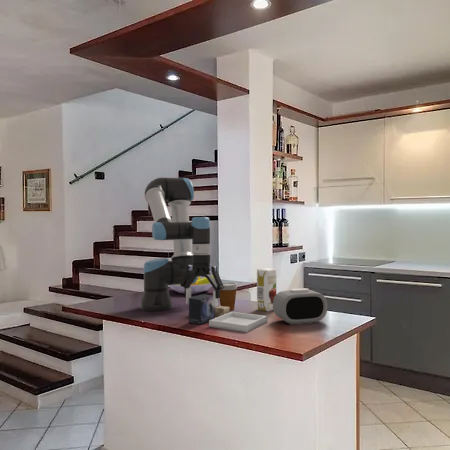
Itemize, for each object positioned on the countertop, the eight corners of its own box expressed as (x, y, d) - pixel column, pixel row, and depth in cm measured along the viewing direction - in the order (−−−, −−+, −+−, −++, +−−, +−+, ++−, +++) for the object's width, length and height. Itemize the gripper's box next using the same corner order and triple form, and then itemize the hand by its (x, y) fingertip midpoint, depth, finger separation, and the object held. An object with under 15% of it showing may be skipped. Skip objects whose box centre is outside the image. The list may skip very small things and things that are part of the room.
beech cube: (215, 318, 190) (215, 307, 190) (220, 316, 194) (220, 305, 194) (224, 319, 188) (224, 308, 188) (229, 317, 192) (229, 306, 192)
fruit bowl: (158, 293, 251) (158, 273, 250) (188, 286, 273) (188, 268, 273) (196, 298, 235) (196, 277, 234) (225, 290, 257) (225, 271, 257)
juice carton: (254, 309, 205) (254, 269, 205) (265, 306, 212) (265, 267, 211) (267, 312, 200) (267, 270, 200) (278, 309, 207) (278, 268, 206)
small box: (201, 325, 178) (200, 299, 178) (188, 323, 182) (187, 297, 181) (215, 319, 187) (215, 295, 187) (202, 317, 191) (202, 293, 190)
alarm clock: (282, 326, 175) (281, 292, 175) (272, 320, 184) (272, 288, 184) (328, 322, 181) (328, 289, 181) (317, 317, 190) (317, 286, 190)
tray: (209, 326, 175) (209, 320, 175) (231, 317, 191) (231, 311, 191) (246, 332, 167) (246, 325, 167) (267, 322, 182) (267, 315, 182)
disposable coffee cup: (235, 312, 201) (235, 286, 201) (215, 311, 203) (215, 285, 202) (239, 307, 210) (239, 282, 210) (219, 307, 212) (219, 282, 212)
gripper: (171, 253, 187) (172, 303, 187) (222, 255, 174) (223, 309, 174) (182, 252, 193) (183, 301, 193) (231, 254, 180) (232, 305, 181)
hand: (202, 305), depth 184 cm, fingers open, 13 cm apart
